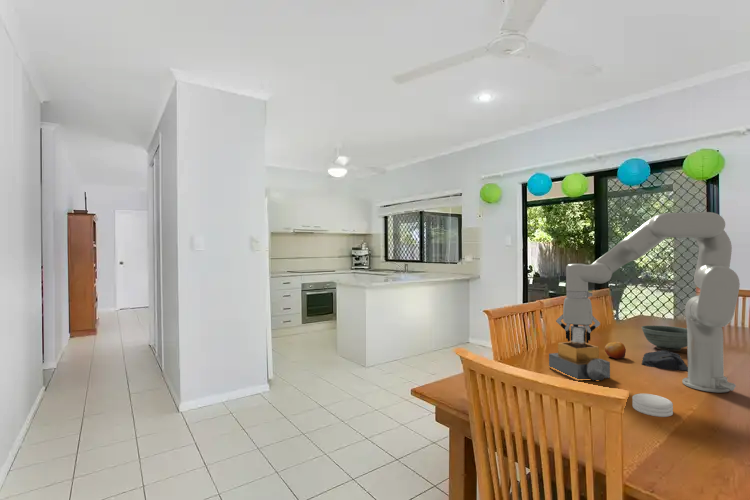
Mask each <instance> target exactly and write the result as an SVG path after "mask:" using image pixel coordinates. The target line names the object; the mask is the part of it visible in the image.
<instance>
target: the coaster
mask: <svg viewBox="0 0 750 500" xmlns="http://www.w3.org/2000/svg"><path fill="white" fill-rule="evenodd" d="M631 399H632V401H631V402H632V408H633V409H634V410H635V411H637V412H638V413H641V414H644V415H648V416H652V417H659V418H667V417H671V416H673V414H674V411H673V410H674V407H673V406H674V404H673V401H671V400H670V399H668V398H666V397H663V396H661V395H656V394H651V393H637V394H636V393H635V394H634V395H632V396H631Z"/></svg>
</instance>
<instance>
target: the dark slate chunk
mask: <svg viewBox="0 0 750 500" xmlns="http://www.w3.org/2000/svg"><path fill="white" fill-rule="evenodd" d="M642 359H643V360H641V366H646V367H649V368H656V369H661V370H662V369H663V370H670V371H679V372H680V371H682V372H688V365H686V363H685V361H684V360H683V359H682V357H681V355H680V354H679V353H677V352H673V351H668V350H662V349H661V350H657V351H651V352H646V353H644V355H643V357H642Z"/></svg>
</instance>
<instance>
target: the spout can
mask: <svg viewBox="0 0 750 500" xmlns="http://www.w3.org/2000/svg"><path fill="white" fill-rule="evenodd" d="M586 332H587V329H586V327H585V325H574V324H572V325H570V342H571V346H572V347H575V348H584V347H586Z"/></svg>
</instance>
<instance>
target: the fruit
mask: <svg viewBox="0 0 750 500" xmlns="http://www.w3.org/2000/svg"><path fill="white" fill-rule="evenodd" d="M604 352H605V353H606V355H607V357H609V356H610V357H609V358H613V359H615V360H620V359H625V357H626V346H625V345H624V344H623V343H622V342H620V341H612V342H608V343H606V344H605V346H604Z"/></svg>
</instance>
